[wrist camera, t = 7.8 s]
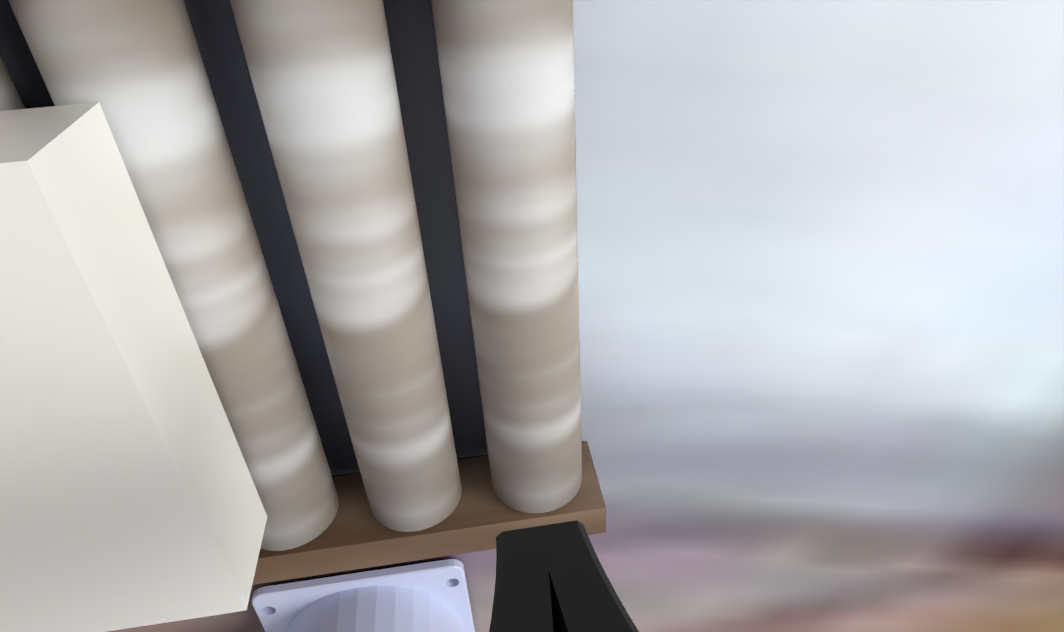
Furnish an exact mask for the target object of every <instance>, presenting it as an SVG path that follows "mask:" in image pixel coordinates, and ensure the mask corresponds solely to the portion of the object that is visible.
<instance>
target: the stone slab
mask: <svg viewBox="0 0 1064 632" xmlns="http://www.w3.org/2000/svg"><path fill="white" fill-rule="evenodd" d="M266 521H267V514H266V512H265V509H264V507H263V505H262V502H261V500H260V497H259V495H258V492H257V490H256V487H255V485H254V482H253V480H252V477H251V475H250V473H249V470H248V468H247V465H246V463H245V460H244V458H243V455H242V453H241V450H240V448H239V445H238V443H237V440H236V438H235V436H234V433H233V431H232V428H231V426H230V423H229V421H228V418H227V416H226V413H225V411H224V408H223V406H222V404H221V401H220V399H219V396H218V394H217V391H216V389H215V386H214V384H213V381H212V379H211V376H210V374H209V372H208V369H207V367H206V364H205V362H204V359H203V357H202V354H201V352H200V349H199V347H198V344H197V342H196V339H195V337H194V335H193V332H192V330H191V327H190V325H189V322H188V320H187V317H186V315H185V312H184V310H183V307H182V305H181V303H180V300H179V298H178V295H177V293H176V290H175V288H174V285H173V283H172V280H171V278H170V275H169V273H168V270H167V268H166V266H165V263H164V261H163V258H162V256H161V253H160V251H159V248H158V246H157V243H156V241H155V238H154V236H153V234H152V231H151V229H150V226H149V224H148V221H147V219H146V216H145V214H144V211H143V209H142V206H141V204H140V202H139V199H138V197H137V194H136V192H135V189H134V187H133V184H132V182H131V179H130V177H129V174H128V172H127V169H126V167H125V165H124V162H123V160H122V157H121V155H120V152H119V150H118V147H117V145H116V142H115V140H114V137H113V135H112V133H111V130H110V128H109V125H108V123H107V120H106V118H105V115H104V113H103V110H102V108H101V105H100V103H99V102H94V103H83V104H72V105H61V106H50V107H40V108H29V109H18V110H7V111H0V632H107V631H114V630H120V629H127V628H134V627H140V626H147V625H153V624H160V623H167V622H173V621H180V620H186V619H193V618H200V617H206V616H213V615H219V614H226V613H233V612H239V611H246V610H247V606H248V602H249V597H250V593H251V588H252V584H253V579H254V575H255V570H256V566H257V561H258V557H259V552H260V548H261V543H262V539H263V534H264V530H265V525H266Z"/></svg>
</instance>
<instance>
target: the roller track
mask: <svg viewBox="0 0 1064 632" xmlns="http://www.w3.org/2000/svg"><path fill="white" fill-rule="evenodd" d="M8 1H9V3H10V5H11V8H12V10H13V12H14V15H15V17H16V19H17V21H18V24H19V26H20V28H21V30H22V33H23V35H24V37H25V39H26V42H27V44H28V46H29V48H30V51H31V53H32V55H33V57H34V60H35V62H36V64H37V66H38V69H39V71H40V73H41V75H42V78H43V80H44V82H45V84H46V87H47V89H48V91H49V94H50V96H51V98H52V100H53V103H54V105H55V106H61V105H72V104H83V103H94V102H99V103H100V105H101V108H102V110H103V113H104V115H105V118H106V120H107V123H108V125H109V128H110V130H111V133H112V135H113V137H114V140H115V142H116V145H117V147H118V150H119V152H120V155H121V157H122V160H123V162H124V165H125V167H126V169H127V172H128V174H129V177H130V179H131V182H132V184H133V187H134V189H135V192H136V194H137V197H138V199H139V202H140V204H141V206H142V209H143V211H144V214H145V216H146V219H147V221H148V224H149V226H150V229H151V231H152V234H153V236H154V238H155V241H156V243H157V246H158V248H159V251H160V253H161V256H162V258H163V261H164V263H165V266H166V268H167V270H168V273H169V275H170V278H171V280H172V283H173V285H174V288H175V290H176V293H177V295H178V298H179V300H180V303H181V305H182V307H183V310H184V312H185V315H186V317H187V320H188V322H189V325H190V327H191V330H192V332H193V335H194V337H195V339H196V342H197V344H198V347H199V349H200V352H201V354H202V357H203V359H204V362H205V364H206V367H207V369H208V372H209V374H210V376H211V379H212V381H213V384H214V386H215V389H216V391H217V394H218V396H219V399H220V401H221V404H222V406H223V408H224V411H225V413H226V416H227V418H228V421H229V423H230V426H231V428H232V431H233V433H234V436H235V438H236V440H237V443H238V445H239V448H240V450H241V453H242V455H243V458H244V460H245V463H246V465H247V468H248V470H249V473H250V475H251V477H252V480H253V482H254V485H255V487H256V490H257V492H258V495H259V497H260V500H261V502H262V505H263V507H264V509H265V512H266V514H267V521H266V525H265V530H264V534H263V539H262V543H261V548H260V552H259V557H258V561H257V566H256V570H255V575H254V579H253V584H252V585H254V584H261V583H268V582H275V581H281V580H288V579H295V578H302V577H308V576H315V575H322V574H328V573H335V572H342V571H349V570H355V569H362V568H369V567H375V566H382V565H389V564H396V563H402V562H409V561H416V560H423V559H429V558H436V557H443V556H449V555H456V554H463V553H470V552H476V551H483V550H490V549H496V537H497V536H498V535H499V534H500V533H501V532H502V531H509V530H516V529H522V528H529V527H536V526H542V525H549V524H556V523H562V522H569V521H576V520H577V521H579V522H581V523H582V524H584V527H585V530H586V532H587V535H591V534H597V533H604V532H606V507H605V503H604V500H603V496H602V493H601V489H600V485H599V482H598V478H597V475H596V471H595V468H594V464H593V461H592V457H591V454H590V450H589V447H588V443H587V442H581V398H580V347H579V295H578V244H577V193H576V141H575V90H574V38H573V0H431V3H432V11H433V19H434V27H435V35H436V43H437V51H438V59H439V67H440V75H441V83H442V91H443V99H444V107H445V115H446V123H447V131H448V139H449V146H450V154H451V162H452V170H453V178H454V186H455V194H456V202H457V210H458V218H459V226H460V234H461V242H462V250H463V258H464V266H465V274H466V282H467V290H468V298H469V306H470V313H471V321H472V329H473V337H474V345H475V353H476V361H477V369H478V377H479V385H480V393H481V401H482V409H483V417H484V425H485V433H486V441H487V449H488V455H486V456H479V457H472V458H464V459H457V456H456V450H455V443H454V437H453V431H452V425H451V419H450V413H449V406H448V400H447V394H446V388H445V382H444V376H443V369H442V363H441V357H440V351H439V345H438V339H437V332H436V326H435V320H434V314H433V308H432V301H431V295H430V289H429V283H428V277H427V271H426V264H425V258H424V252H423V246H422V240H421V234H420V227H419V221H418V215H417V209H416V203H415V197H414V190H413V184H412V178H411V172H410V166H409V160H408V153H407V147H406V141H405V135H404V129H403V123H402V116H401V110H400V104H399V98H398V92H397V86H396V79H395V73H394V67H393V61H392V55H391V49H390V42H389V36H388V30H387V24H386V18H385V12H384V5H383V0H230V4H231V7H232V11H233V15H234V18H235V22H236V25H237V29H238V33H239V36H240V40H241V43H242V47H243V51H244V54H245V58H246V61H247V65H248V69H249V72H250V76H251V80H252V83H253V87H254V90H255V94H256V98H257V101H258V105H259V108H260V112H261V116H262V119H263V123H264V126H265V130H266V134H267V137H268V141H269V145H270V148H271V152H272V155H273V159H274V163H275V166H276V170H277V173H278V177H279V181H280V184H281V188H282V191H283V195H284V199H285V202H286V206H287V209H288V213H289V217H290V220H291V224H292V228H293V231H294V235H295V238H296V242H297V246H298V249H299V253H300V256H301V260H302V264H303V267H304V271H305V274H306V278H307V282H308V285H309V289H310V293H311V296H312V300H313V303H314V307H315V311H316V314H317V318H318V321H319V325H320V329H321V332H322V336H323V339H324V343H325V347H326V350H327V354H328V357H329V361H330V365H331V368H332V372H333V376H334V379H335V383H336V386H337V390H338V394H339V397H340V401H341V404H342V408H343V412H344V415H345V419H346V422H347V426H348V430H349V433H350V437H351V441H352V444H353V448H354V451H355V455H356V459H357V462H358V466H359V469H360V473H355V474H348V475H341V476H334V477H332V475H331V471H330V468H329V465H328V462H327V459H326V455H325V452H324V449H323V446H322V443H321V439H320V436H319V433H318V430H317V426H316V423H315V420H314V417H313V414H312V410H311V407H310V404H309V401H308V398H307V394H306V391H305V388H304V385H303V381H302V378H301V375H300V372H299V369H298V365H297V362H296V359H295V356H294V353H293V349H292V346H291V343H290V340H289V337H288V333H287V330H286V327H285V324H284V320H283V317H282V314H281V311H280V308H279V304H278V301H277V298H276V295H275V292H274V288H273V285H272V282H271V279H270V275H269V272H268V269H267V266H266V263H265V259H264V256H263V253H262V250H261V247H260V243H259V240H258V237H257V234H256V231H255V227H254V224H253V221H252V218H251V214H250V211H249V208H248V205H247V202H246V198H245V195H244V192H243V189H242V186H241V182H240V179H239V176H238V173H237V170H236V166H235V163H234V160H233V157H232V153H231V150H230V147H229V144H228V141H227V137H226V134H225V131H224V128H223V125H222V121H221V118H220V115H219V112H218V108H217V105H216V102H215V99H214V96H213V92H212V89H211V86H210V83H209V80H208V76H207V73H206V70H205V67H204V64H203V60H202V57H201V54H200V51H199V47H198V44H197V41H196V38H195V35H194V31H193V28H192V25H191V22H190V19H189V15H188V12H187V9H186V6H185V2H184V0H8ZM18 109H25V107H24V104H23V102H22V100H21V98H20V96H19V94H18V92H17V90H16V87H15V85H14V83H13V81H12V79H11V77H10V75H9V72H8V70H7V68H6V66H5V64H4V62H3V60H2V58H1V55H0V111H7V110H18Z"/></svg>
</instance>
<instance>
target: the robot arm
mask: <svg viewBox="0 0 1064 632" xmlns="http://www.w3.org/2000/svg"><path fill="white" fill-rule="evenodd" d="M496 549H497V563H496V583H495V594H494V602H493V610H492V618H491V625H490V631H489V632H639V631H638V630H637V628H636V626H635V625H634V623H633V621H632V620H631V618H630V617H629V615H628V613H627V612H626V610H625V608H624V606H623V605H622V603H621V601H620V599H619V598H618V596H617V594H616V592H615V590H614V588H613V587H612V585H611V583H610V581H609V579H608V577H607V575H606V573H605V571H604V569H603V567H602V565H601V564H600V562H599V559H598V557H597V555H596V553H595V551H594V549H593V546H592V544H591V542H590V540H589V537H588V535H587V532H586V530H585V527H584V524H582V523H581V522H579V521H577V520H576V521H569V522H562V523H556V524H549V525H542V526H536V527H529V528H522V529H516V530H509V531H502V532H501V533H500V534H499V535H498V536H497V537H496ZM252 605H253V607H254V609H255V611H256V614H257V616H258V618H259V620H260V622H261V624H262V626H263V628H264V630H265V632H475V628H474V623H473V617H472V611H471V606H470V600H469V594H468V589H467V583H466V577H465V572H464V566H463V564H462V562H460V561H459V560H456V559H446V560H439V561H432V562H425V563H419V564H412V565H405V566H399V567H392V568H385V569H379V570H372V571H365V572H358V573H352V574H345V575H338V576H332V577H325V578H318V579H311V580H305V581H298V582H291V583H285V584H278V585H271V586H264V587H261V588H258V589H257V590H255V591H254V593H253V596H252Z"/></svg>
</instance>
